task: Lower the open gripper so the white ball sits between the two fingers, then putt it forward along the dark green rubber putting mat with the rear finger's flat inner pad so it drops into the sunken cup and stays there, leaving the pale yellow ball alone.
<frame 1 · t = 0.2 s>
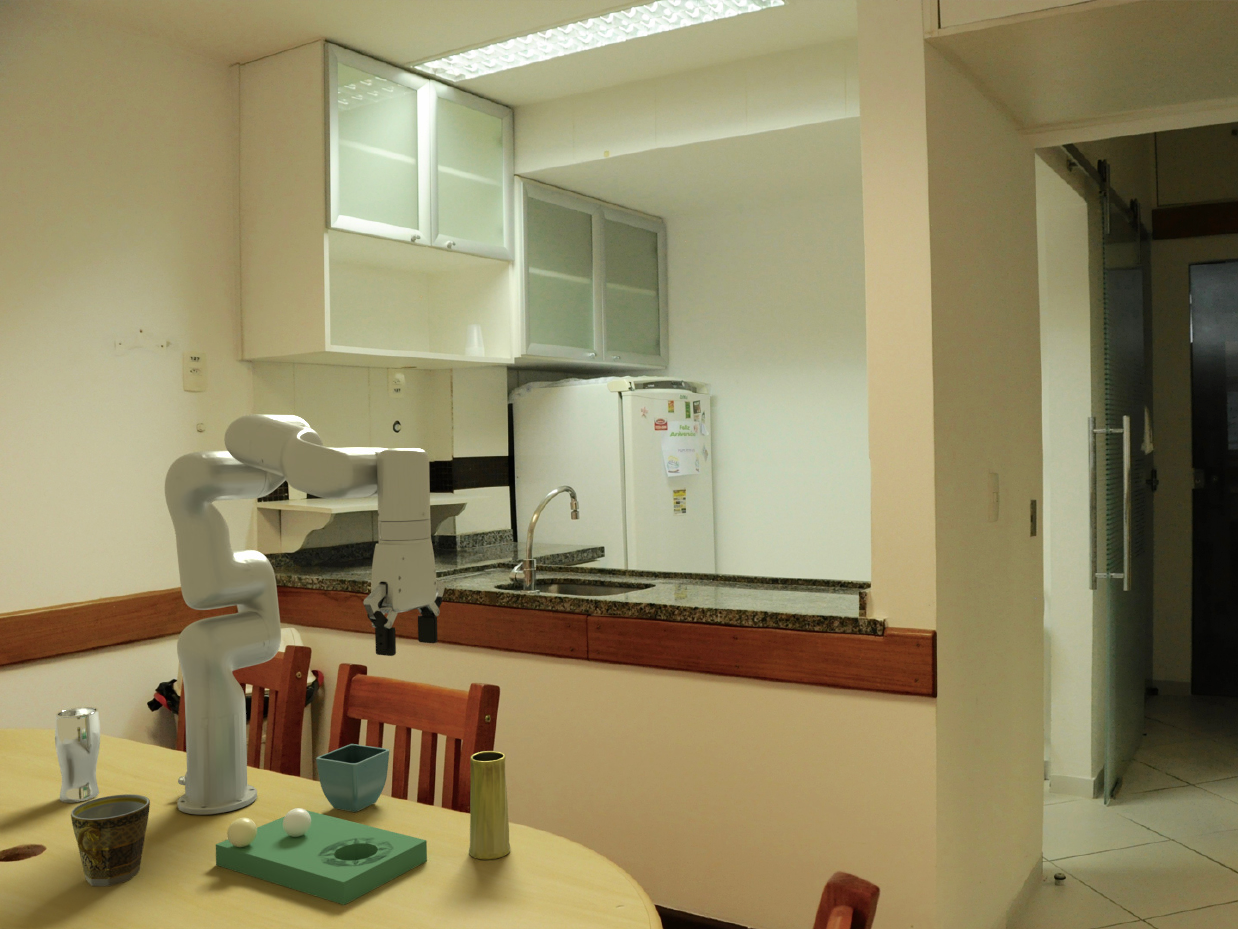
hand: (407, 648, 148), 31 cm above the table, tool pointing down, fingers open, 9 cm apart
beer glass: (79, 798, 175), on the table
white ball: (297, 822, 148), point 5 cm above the table, touching putting mat
putting mat: (321, 863, 146), on the table
ceramic cup: (107, 882, 141), on the table
vase: (489, 853, 149), on the table
flower pot: (354, 807, 169), on the table
yellow ball: (242, 832, 145), point 5 cm above the table, touching putting mat
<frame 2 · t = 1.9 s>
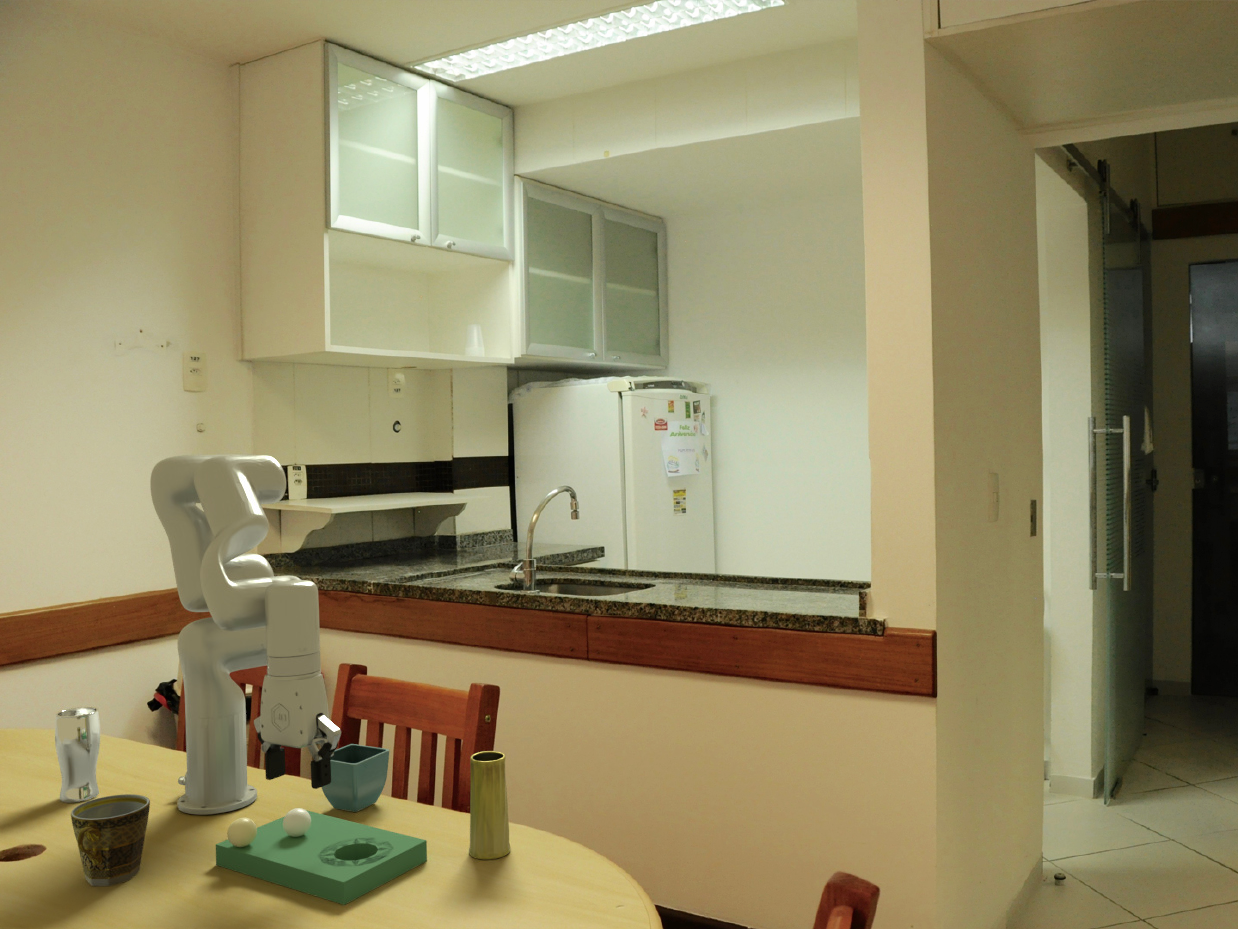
hand: (298, 781, 148), 11 cm above the table, tool pointing down, fingers open, 9 cm apart
nothing on the table moved.
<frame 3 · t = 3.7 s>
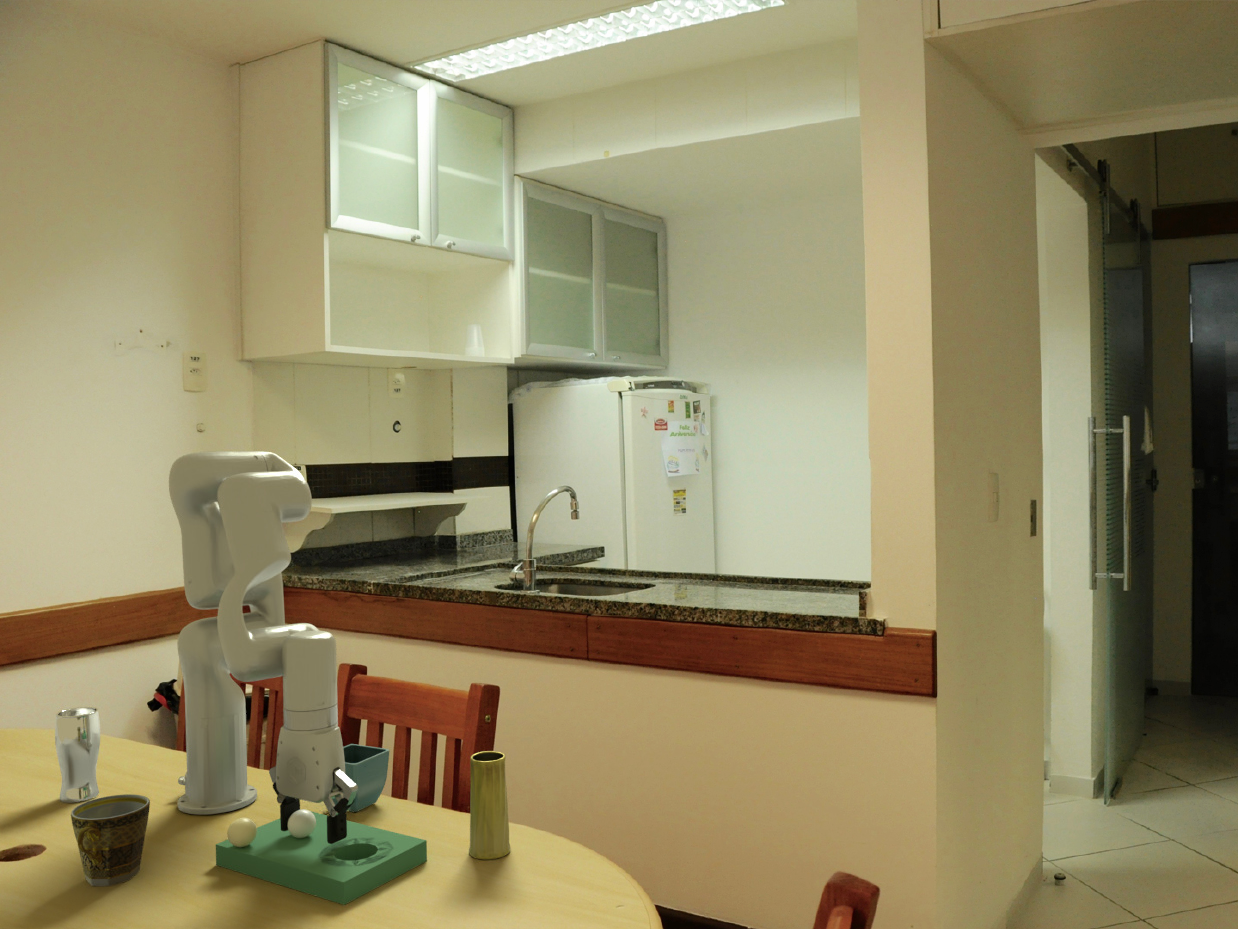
hand: (313, 834, 147), 4 cm above the table, tool pointing down, fingers open, 9 cm apart
white ball: (301, 823, 148), point 5 cm above the table, tilted 28°, touching putting mat
everything else where it was.
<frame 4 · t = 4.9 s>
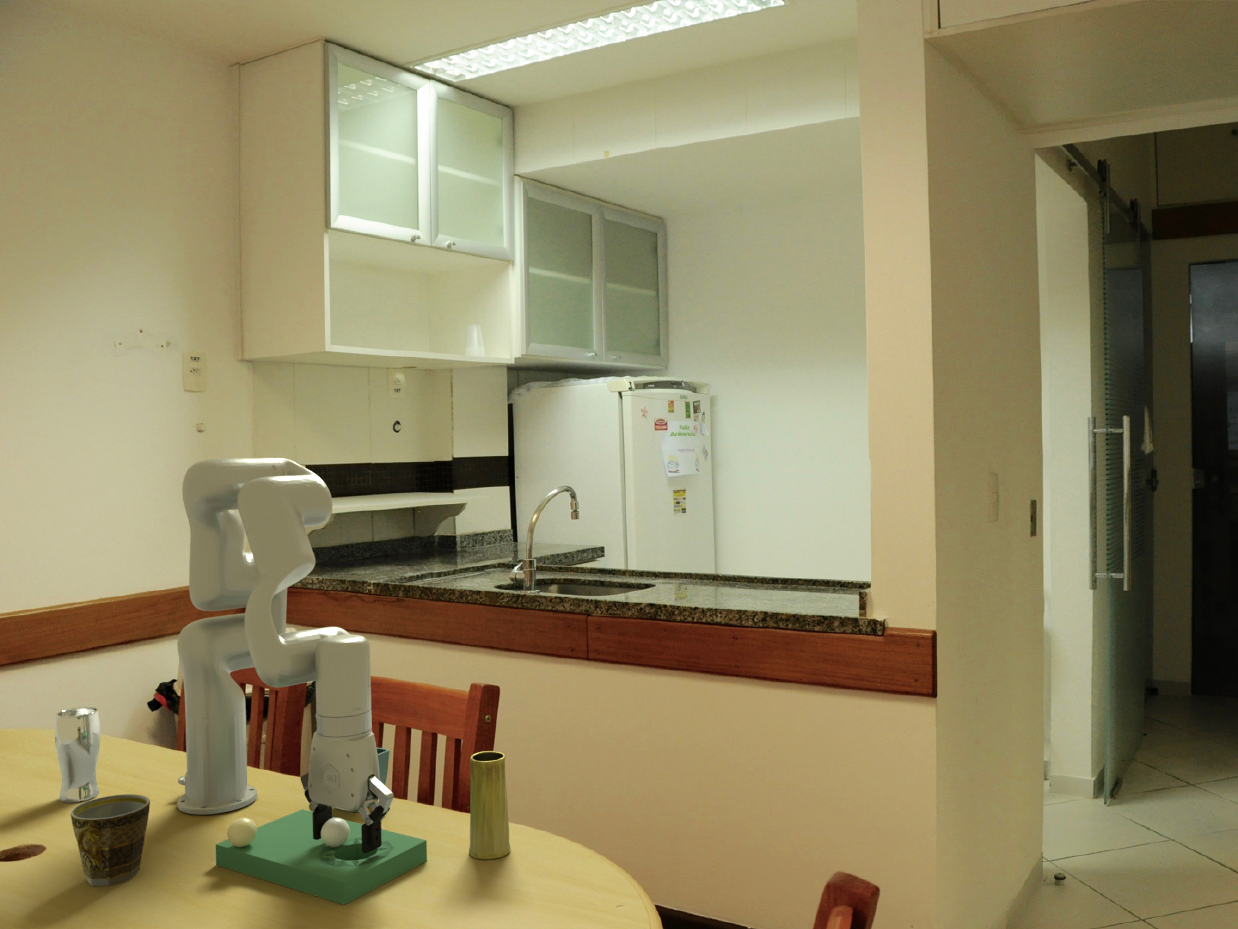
hand: (347, 843, 143), 4 cm above the table, tool pointing down, fingers open, 9 cm apart
white ball: (335, 832, 144), point 5 cm above the table, tilted 165°, touching putting mat
everything else where it was.
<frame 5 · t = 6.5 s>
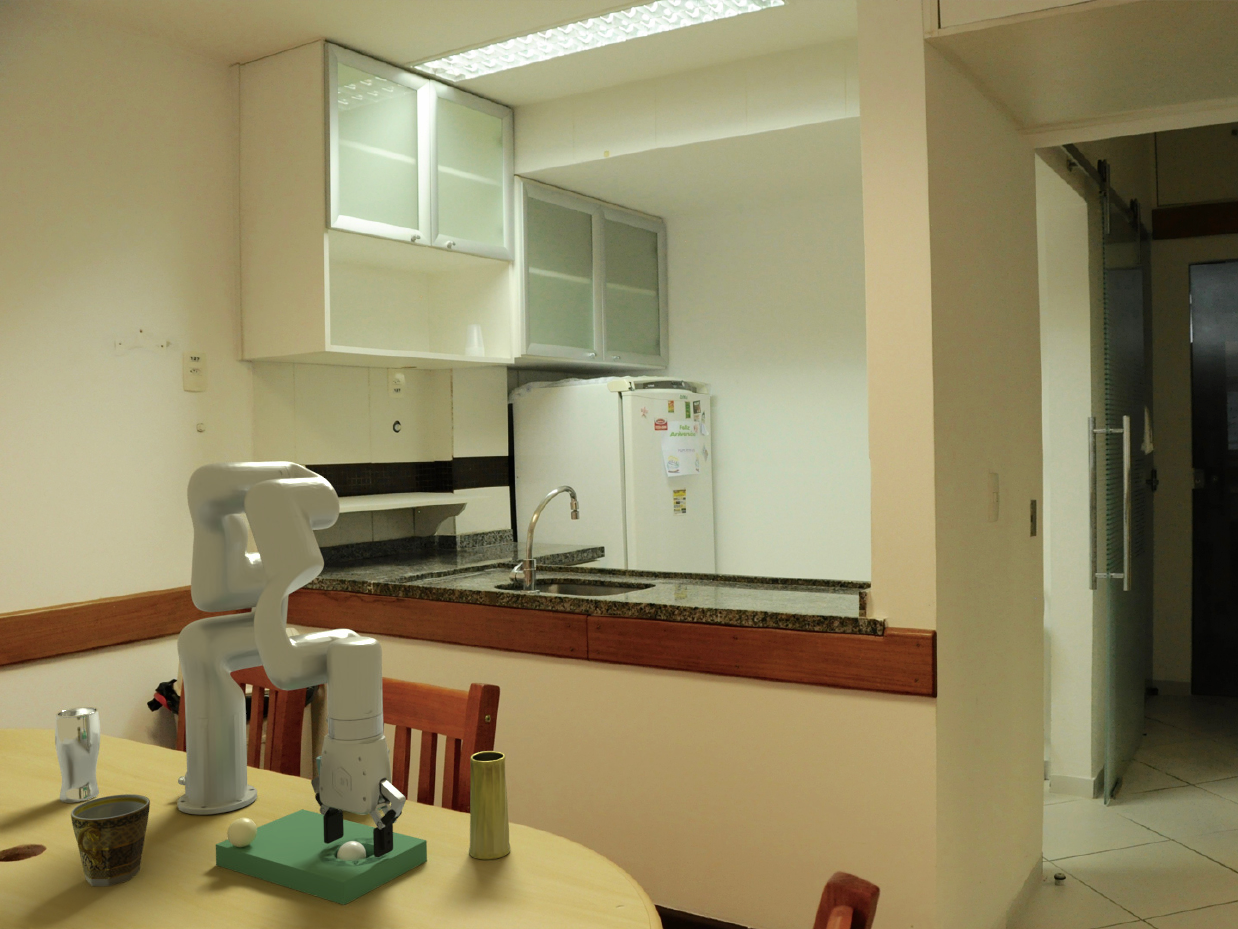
hand: (358, 847, 142), 4 cm above the table, tool pointing down, fingers open, 9 cm apart
white ball: (351, 856, 143), point 2 cm above the table, tilted 50°, touching putting mat
everything else where it was.
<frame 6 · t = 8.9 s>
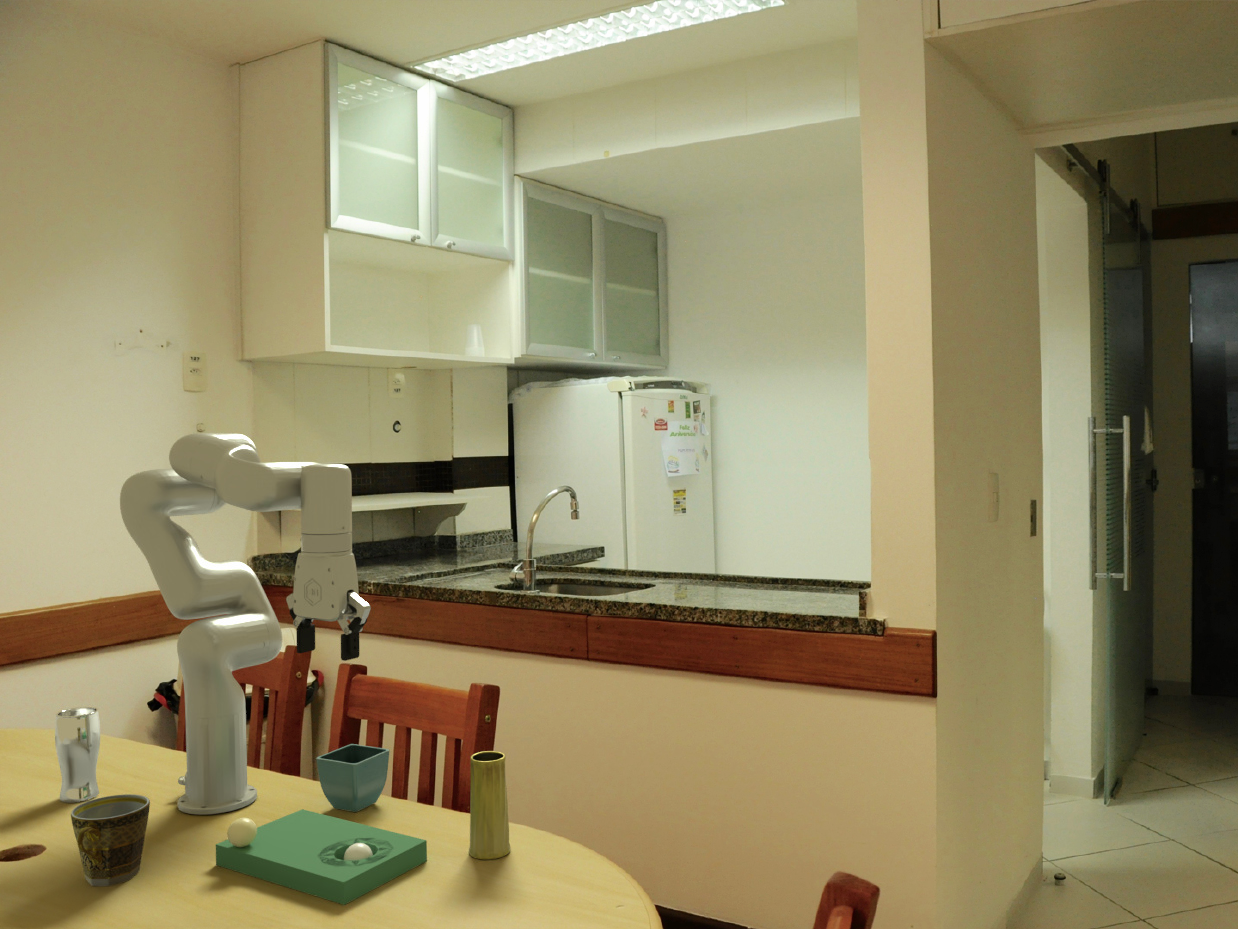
hand: (327, 655, 155), 28 cm above the table, tool pointing down, fingers open, 9 cm apart
white ball: (358, 858, 142), point 2 cm above the table, tilted 12°, touching putting mat
everything else where it was.
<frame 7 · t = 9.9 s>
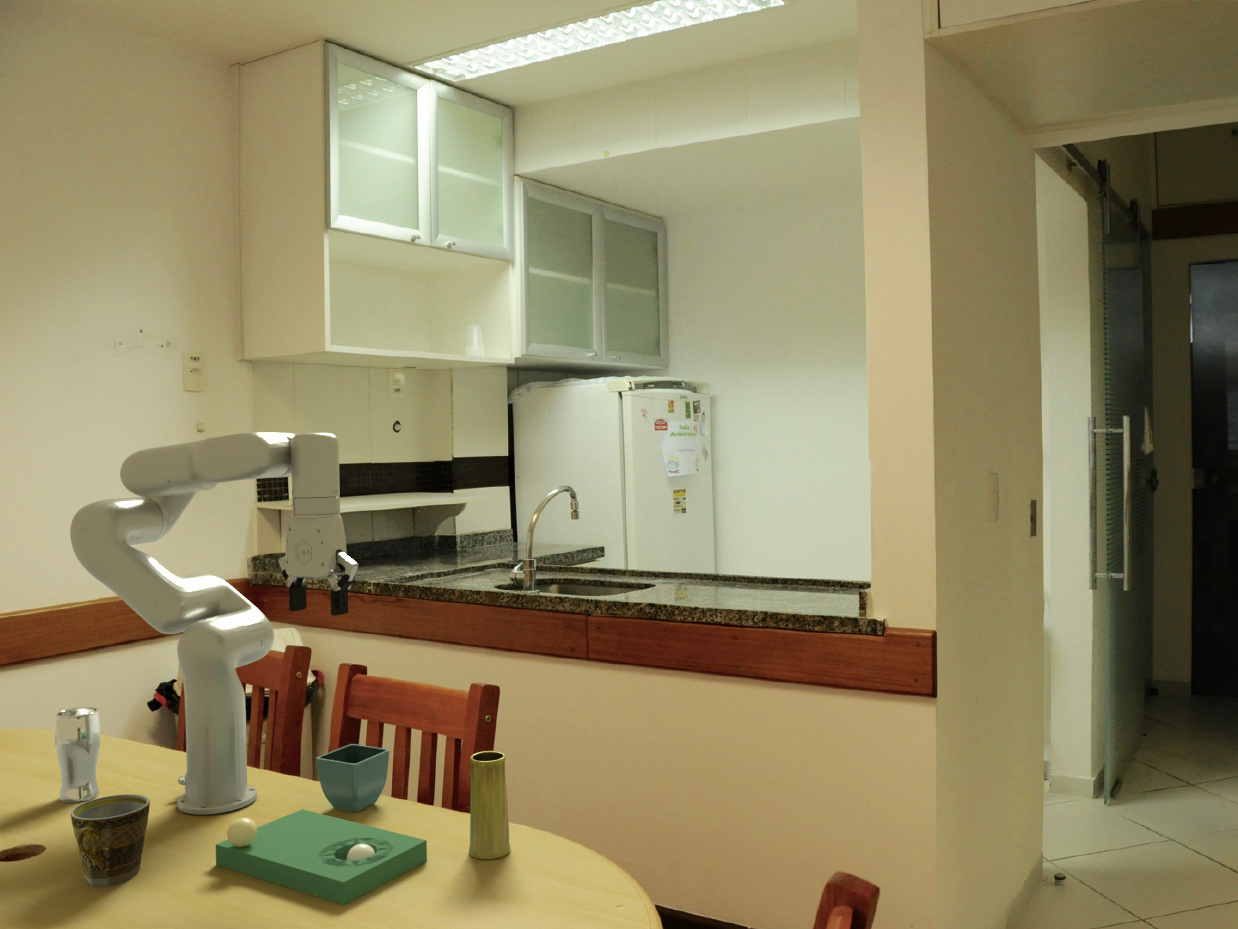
hand: (318, 612, 165), 33 cm above the table, tool pointing down, fingers open, 9 cm apart
white ball: (361, 858, 142), point 2 cm above the table, touching putting mat
everything else where it was.
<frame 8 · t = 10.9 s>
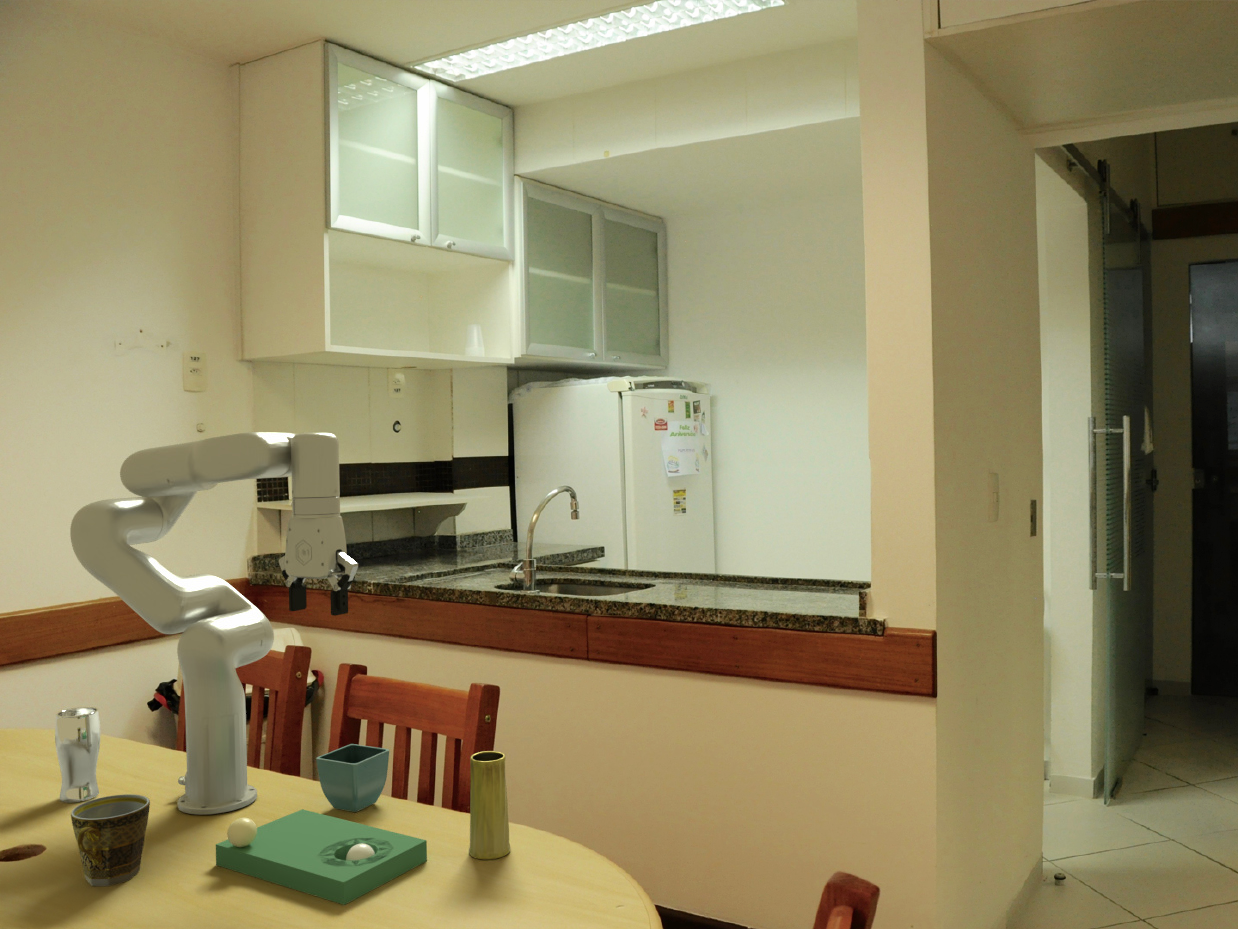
hand: (318, 612, 165), 33 cm above the table, tool pointing down, fingers open, 9 cm apart
nothing on the table moved.
at the end: white ball 0.9 cm from the target spot on the putting mat, point 2.2 cm above the putting mat's base; yellow ball moved 0.0 cm from its start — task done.
